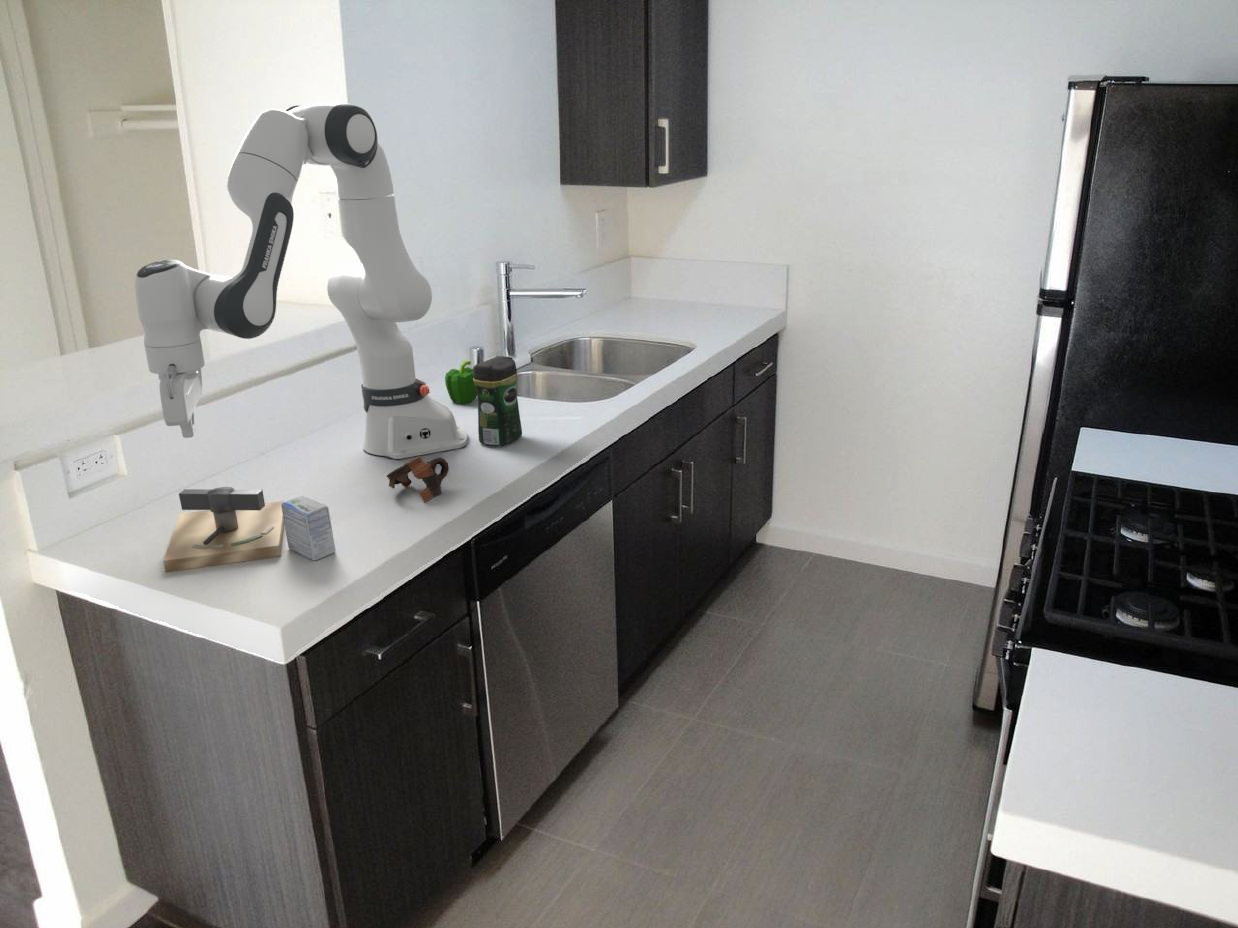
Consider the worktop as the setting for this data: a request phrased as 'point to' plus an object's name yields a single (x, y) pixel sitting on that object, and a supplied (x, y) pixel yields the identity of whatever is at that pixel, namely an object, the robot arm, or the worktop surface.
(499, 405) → the coffee jar
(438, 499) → the worktop surface
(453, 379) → the bell pepper
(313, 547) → the medicine box
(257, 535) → the tuner board
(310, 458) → the worktop surface
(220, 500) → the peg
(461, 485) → the worktop surface
